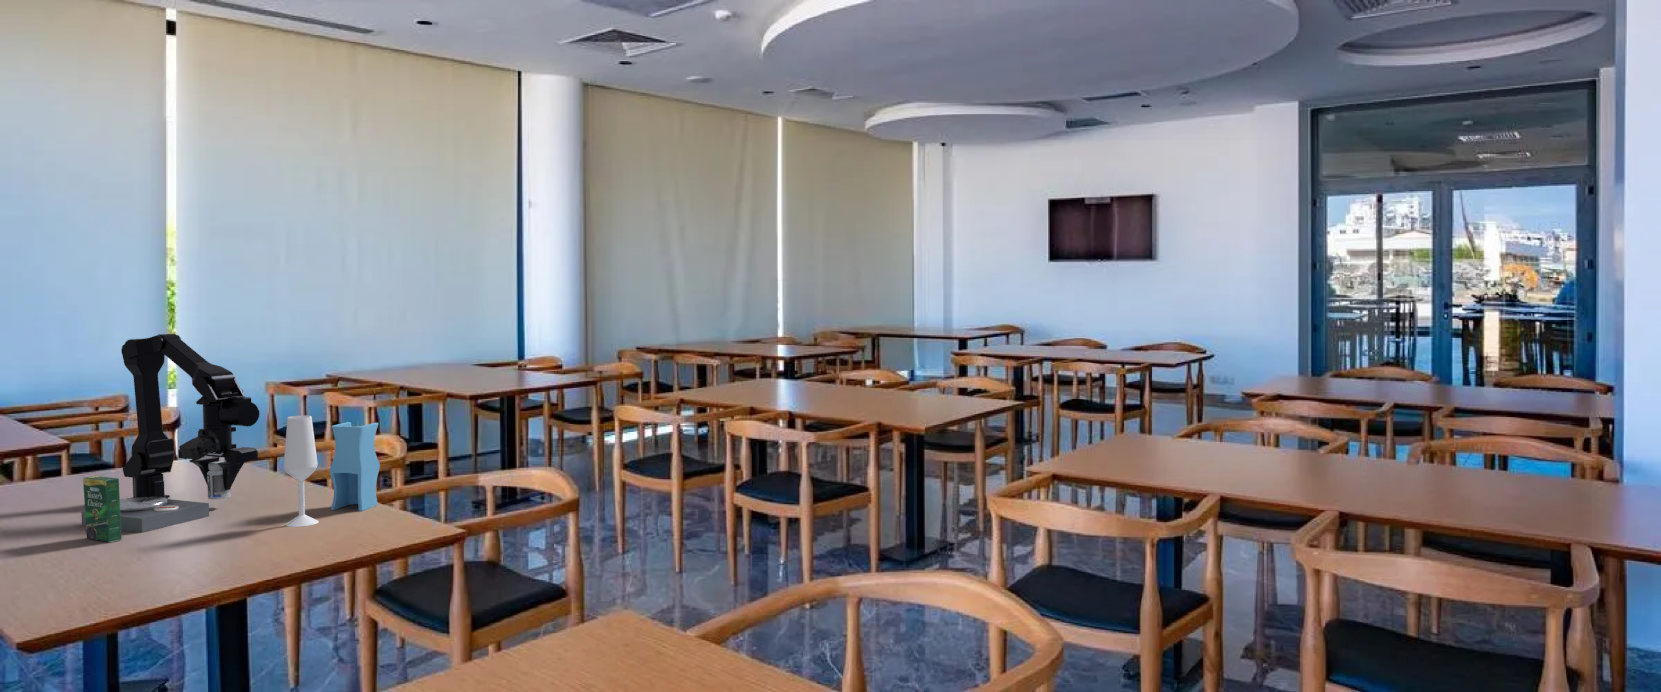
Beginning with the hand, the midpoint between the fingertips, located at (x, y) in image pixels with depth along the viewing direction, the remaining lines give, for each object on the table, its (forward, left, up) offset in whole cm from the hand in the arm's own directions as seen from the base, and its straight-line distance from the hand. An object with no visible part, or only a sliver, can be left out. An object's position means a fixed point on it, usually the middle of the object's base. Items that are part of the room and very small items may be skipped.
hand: (219, 488), depth 238 cm
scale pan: (-6, -15, -1) cm, 16 cm away
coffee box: (+3, -30, -5) cm, 30 cm away
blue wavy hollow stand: (+29, +12, -5) cm, 32 cm away
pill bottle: (0, 0, -2) cm, 2 cm away
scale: (-4, -15, -5) cm, 16 cm away
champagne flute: (+30, -5, -5) cm, 31 cm away
